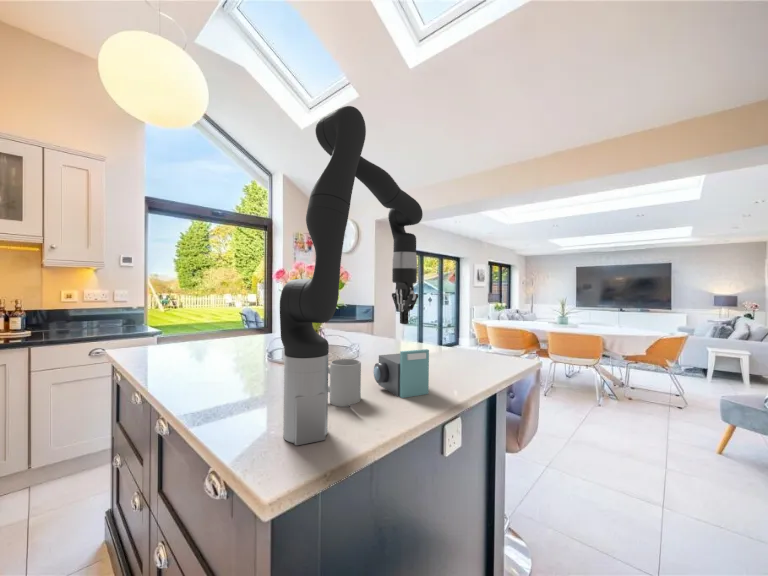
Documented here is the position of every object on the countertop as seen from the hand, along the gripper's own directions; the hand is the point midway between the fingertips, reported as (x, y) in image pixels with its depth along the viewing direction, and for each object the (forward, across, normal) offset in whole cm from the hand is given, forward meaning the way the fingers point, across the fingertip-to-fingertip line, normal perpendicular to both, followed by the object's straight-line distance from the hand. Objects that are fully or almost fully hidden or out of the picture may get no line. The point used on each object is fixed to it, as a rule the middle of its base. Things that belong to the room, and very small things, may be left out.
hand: (404, 323), depth 102 cm
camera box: (+21, +1, +1) cm, 21 cm away
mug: (+21, -1, +21) cm, 30 cm away
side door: (+20, -7, 0) cm, 21 cm away
